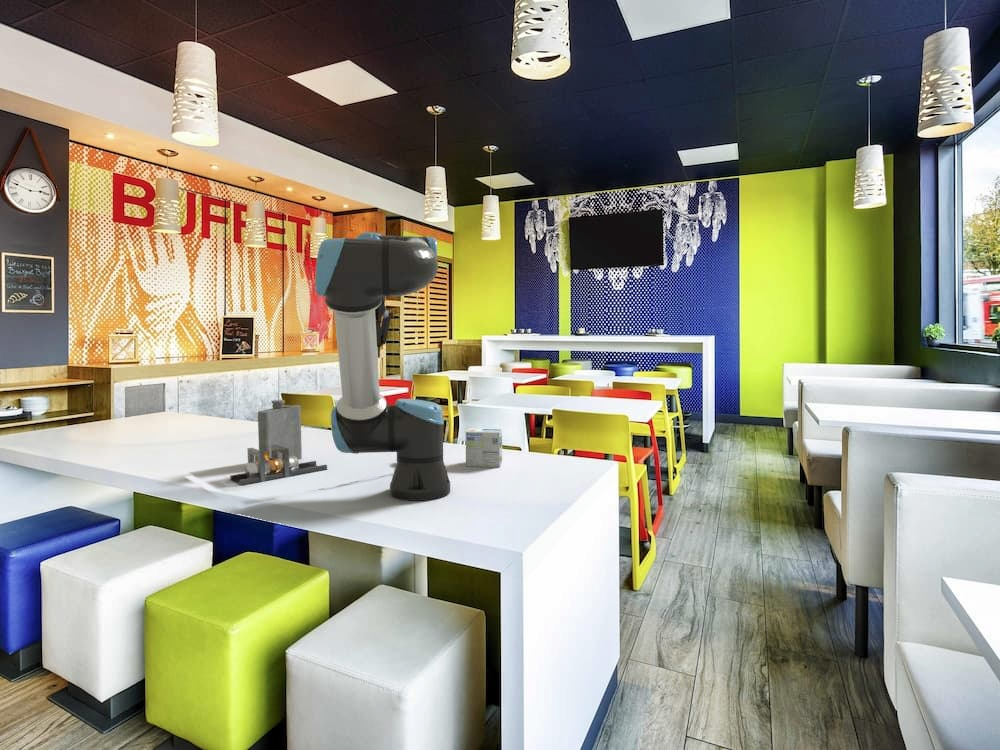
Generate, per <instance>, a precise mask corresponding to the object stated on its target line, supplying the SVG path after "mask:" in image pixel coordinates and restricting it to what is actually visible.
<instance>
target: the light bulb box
mask: <svg viewBox="0 0 1000 750" xmlns="http://www.w3.org/2000/svg"><path fill="white" fill-rule="evenodd" d="M502 464H503V428H468V429H467V430H466V431H465V467H478V468H479V467H480V468H481V467H482V468H483V467H485V468H501V465H502Z"/></svg>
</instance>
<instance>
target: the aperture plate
mask: <svg viewBox="0 0 1000 750" xmlns="http://www.w3.org/2000/svg"><path fill="white" fill-rule="evenodd" d="M264 452H265V460H269V459H270V451H264ZM254 462H258V457H257V456H255V455H254Z"/></svg>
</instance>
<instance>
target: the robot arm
mask: <svg viewBox="0 0 1000 750" xmlns="http://www.w3.org/2000/svg"><path fill="white" fill-rule="evenodd" d="M438 269H439V262H438V242H437V239H436V238H435V237H433V236H432V237H431V236H423V235H422V236H413V235H411V236H407V235H406V236H404V235H403V236H399V235H383V234H382V233H378V232H362V233H360V234H359V235H358V236H357V237H356V238H349V237H348V238H347V237H342V238H340V237H339V238H326V239H324V240H323V241H322V242H321V243H320V245H319V247H318V252H317V256H316V265H315V273H314V274H315V277H314V283H315V285H314V286H315V287H314V288H315V289H314V290H315V293H316V295H317V296H318V297H319V296H320V297H321V298H322V297H324V299H325V305H326V307H327V308H328V309H330V310H331V311H332V312H333V313H334V325H335V332H336V336H335V337H336V343H337V345H336V346H337V354H338V355H337V356H338V366H339V367H338V368H339V375H340V386H341V397H340V398H339V399H338V401H337V403H336V406H333V407H332V409H331V412H330V413H331V414H330V424H331V435H332V440H333V442H334V445H335V447H336V449H337V450H338V451H339V452H341V453H343V454H356V455H357V454H358V455H359V454H363V453H364V454H368V453H371V454H372V453H396V462H395V463H396V464H395V467H394V471H393V474H392V476H391V477H392V478H391V481H390V483H389V494H390V496H391V497H393V498H396V499H398V500H399V499H400V500H405V501H428V500H435V499H439V498H443V497H445V496H448V495H449V494H450V493H451V481H450V478H449V476H448V471H447V468H446V466H445V462H444V423H445V421H444V414H443V408H442V406H441V405H439V404H438V403H435V402H434V401H429V400H428V401H427V400H421V399H415V398H398V399H396V401H395V404H392V405H391V404H389V405H388V404H387V400H386V397H384V395H382V394H381V393H380V378H379V358H380V357H381V347H383V345H386V344H387V339H388V334H389V328H390V324H391V319H392V318H393V316H394V313H393V312H390V311H389V310H387V306H386V301H387V300H386V297H403V296H406V295H410V294H413V293H416V292H418V291H420V290H422V289H424V288H425V287H427V286H428V285H430V284H431V283H432V282H433V280H434V279H435V278H436V275H437V274H438Z"/></svg>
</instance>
